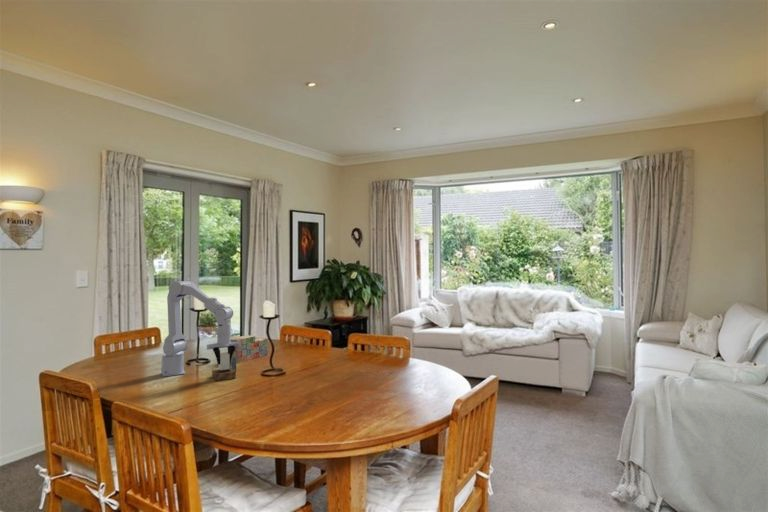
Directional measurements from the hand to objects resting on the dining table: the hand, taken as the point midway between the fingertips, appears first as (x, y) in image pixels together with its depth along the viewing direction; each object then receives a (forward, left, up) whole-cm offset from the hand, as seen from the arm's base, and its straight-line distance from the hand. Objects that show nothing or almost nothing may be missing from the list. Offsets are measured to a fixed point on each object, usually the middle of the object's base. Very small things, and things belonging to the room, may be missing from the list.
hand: (223, 363), depth 197 cm
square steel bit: (0, 0, -2) cm, 2 cm away
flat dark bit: (+6, +9, -6) cm, 13 cm away
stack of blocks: (+20, +31, -7) cm, 37 cm away
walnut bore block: (0, 0, -6) cm, 6 cm away
